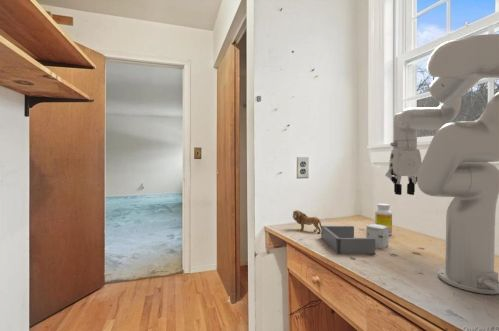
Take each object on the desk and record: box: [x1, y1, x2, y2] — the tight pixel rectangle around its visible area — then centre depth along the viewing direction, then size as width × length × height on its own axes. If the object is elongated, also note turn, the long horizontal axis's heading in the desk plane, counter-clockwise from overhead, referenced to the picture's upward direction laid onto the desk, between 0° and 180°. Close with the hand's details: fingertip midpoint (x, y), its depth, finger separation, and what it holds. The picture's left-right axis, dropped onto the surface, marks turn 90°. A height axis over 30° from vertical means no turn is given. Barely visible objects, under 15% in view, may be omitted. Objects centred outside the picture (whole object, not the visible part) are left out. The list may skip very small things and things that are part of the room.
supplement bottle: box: [374, 203, 393, 236], centre depth 112 cm, size 7×7×13 cm
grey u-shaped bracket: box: [320, 225, 376, 255], centre depth 95 cm, size 18×13×5 cm
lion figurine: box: [292, 209, 322, 235], centre depth 115 cm, size 15×5×9 cm, turn 66°
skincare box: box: [365, 223, 390, 250], centre depth 95 cm, size 6×6×7 cm
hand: (404, 194), depth 96 cm, fingers open, 4 cm apart
